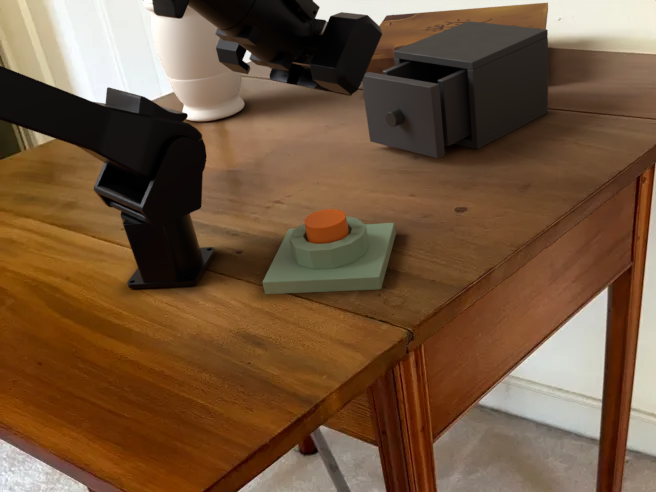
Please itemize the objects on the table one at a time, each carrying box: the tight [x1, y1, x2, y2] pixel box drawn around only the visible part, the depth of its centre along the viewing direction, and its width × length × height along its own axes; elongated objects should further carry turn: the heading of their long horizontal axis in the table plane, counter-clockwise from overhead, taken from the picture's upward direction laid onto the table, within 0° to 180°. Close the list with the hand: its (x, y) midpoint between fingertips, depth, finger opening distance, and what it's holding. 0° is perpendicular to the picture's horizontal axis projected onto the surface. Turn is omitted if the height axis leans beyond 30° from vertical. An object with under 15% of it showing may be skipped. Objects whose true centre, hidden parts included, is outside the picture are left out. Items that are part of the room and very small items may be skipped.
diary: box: [366, 2, 549, 74], centre depth 111 cm, size 23×19×6 cm
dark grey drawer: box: [361, 60, 471, 159], centre depth 90 cm, size 13×10×7 cm
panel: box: [262, 215, 397, 295], centre depth 72 cm, size 10×10×3 cm
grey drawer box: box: [394, 21, 549, 150], centre depth 93 cm, size 13×12×9 cm
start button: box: [303, 208, 349, 244], centre depth 70 cm, size 4×4×2 cm
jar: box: [142, 0, 246, 122], centre depth 107 cm, size 11×10×15 cm
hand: (351, 90), depth 82 cm, fingers closed
